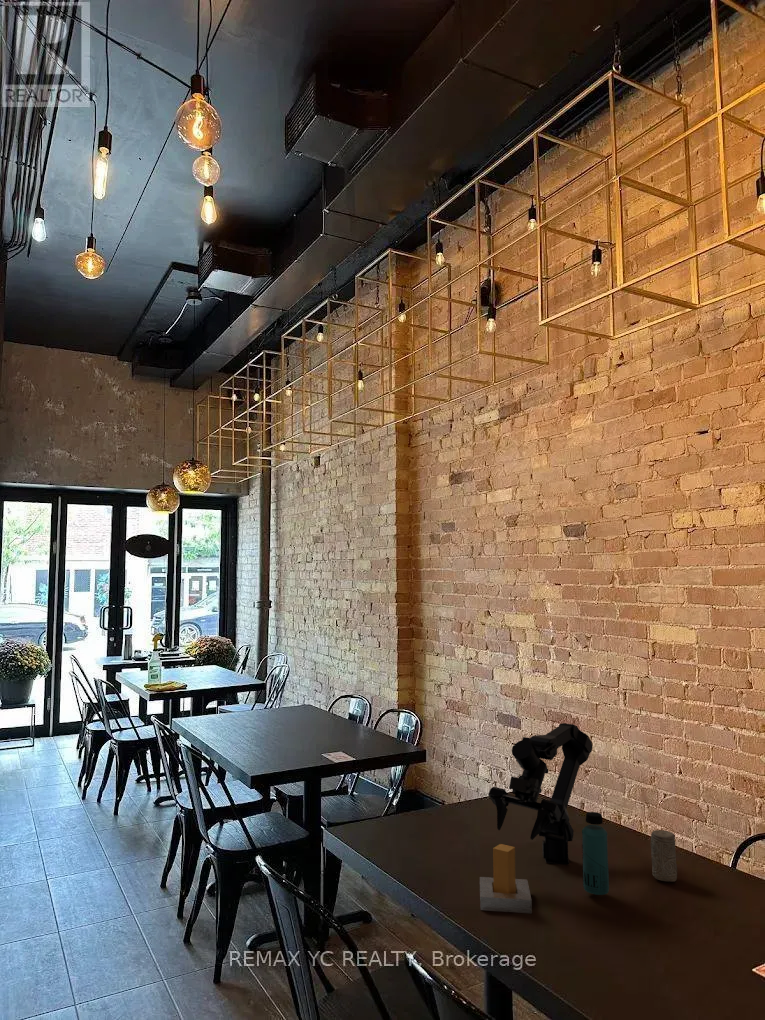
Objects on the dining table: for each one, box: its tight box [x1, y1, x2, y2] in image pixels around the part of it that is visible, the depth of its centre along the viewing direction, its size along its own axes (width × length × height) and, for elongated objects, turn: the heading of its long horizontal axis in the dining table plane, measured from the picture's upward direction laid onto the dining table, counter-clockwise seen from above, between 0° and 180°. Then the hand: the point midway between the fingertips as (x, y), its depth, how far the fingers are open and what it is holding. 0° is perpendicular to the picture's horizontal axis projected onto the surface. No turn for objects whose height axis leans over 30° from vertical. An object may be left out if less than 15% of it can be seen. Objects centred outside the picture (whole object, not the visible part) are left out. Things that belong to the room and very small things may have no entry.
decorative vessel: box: [650, 829, 678, 883], centre depth 186 cm, size 6×8×12 cm
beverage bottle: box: [581, 811, 610, 896], centre depth 176 cm, size 6×7×20 cm
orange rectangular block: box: [492, 843, 516, 894], centre depth 173 cm, size 4×4×12 cm
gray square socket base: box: [479, 876, 533, 914], centre depth 172 cm, size 12×12×3 cm
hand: (514, 834), depth 181 cm, fingers open, 9 cm apart
